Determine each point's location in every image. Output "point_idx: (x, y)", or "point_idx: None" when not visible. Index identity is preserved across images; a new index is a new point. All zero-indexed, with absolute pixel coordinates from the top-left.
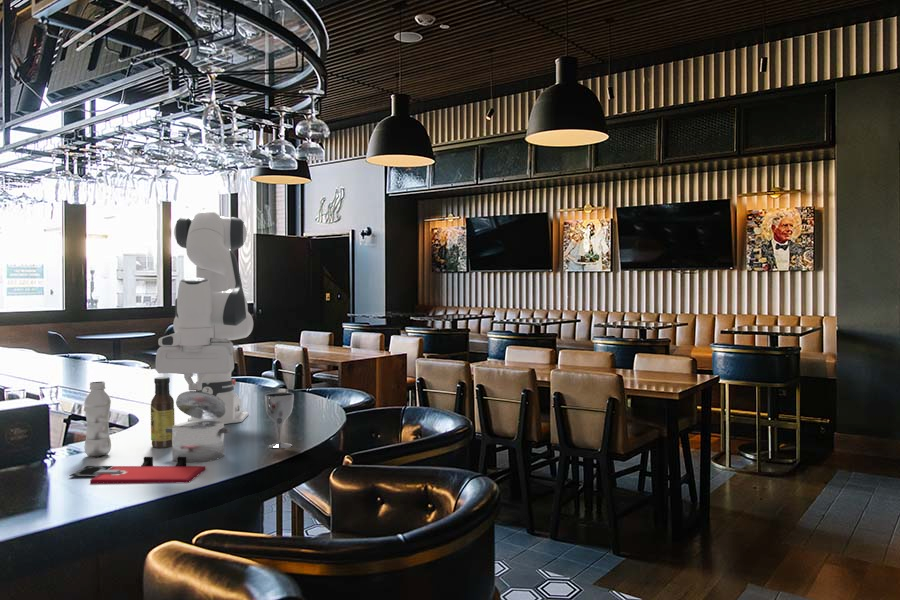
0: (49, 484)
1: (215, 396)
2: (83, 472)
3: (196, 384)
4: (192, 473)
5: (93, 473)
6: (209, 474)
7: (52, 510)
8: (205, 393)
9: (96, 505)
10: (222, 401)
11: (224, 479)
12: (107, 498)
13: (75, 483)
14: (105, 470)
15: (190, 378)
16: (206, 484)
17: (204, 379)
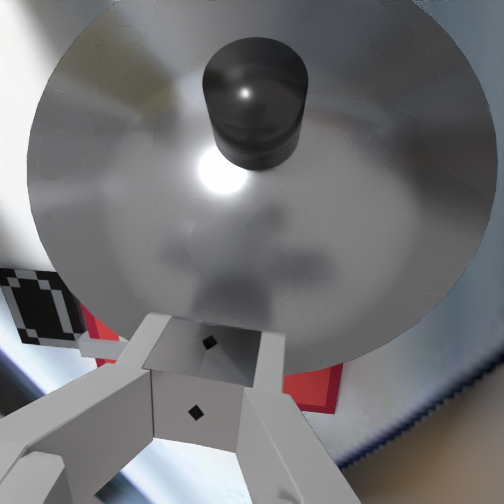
0: (24, 374)
1: (437, 301)
2: (34, 322)
3: (233, 447)
4: (329, 373)
5: (65, 331)
6: (373, 357)
7: (150, 495)
8: (343, 359)
9: (207, 490)
10: (485, 218)
11: (422, 402)
12: (204, 466)
13: (73, 376)
14: (94, 348)
15: (67, 448)
16: (382, 428)
17: (327, 457)
